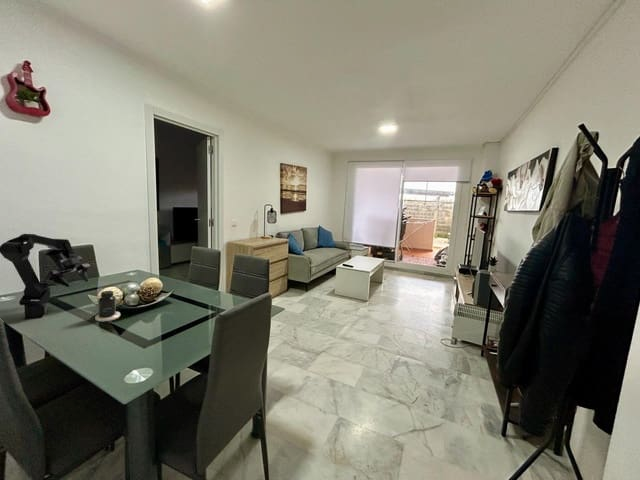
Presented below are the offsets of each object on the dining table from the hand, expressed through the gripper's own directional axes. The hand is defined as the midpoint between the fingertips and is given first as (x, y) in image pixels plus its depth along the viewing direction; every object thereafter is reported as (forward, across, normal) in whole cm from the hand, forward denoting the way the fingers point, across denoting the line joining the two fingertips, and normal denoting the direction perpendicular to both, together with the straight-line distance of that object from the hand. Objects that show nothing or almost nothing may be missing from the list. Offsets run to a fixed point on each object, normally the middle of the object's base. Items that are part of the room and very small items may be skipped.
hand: (78, 283), depth 142 cm
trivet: (+25, -4, -7) cm, 27 cm away
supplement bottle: (+24, -4, -7) cm, 26 cm away
